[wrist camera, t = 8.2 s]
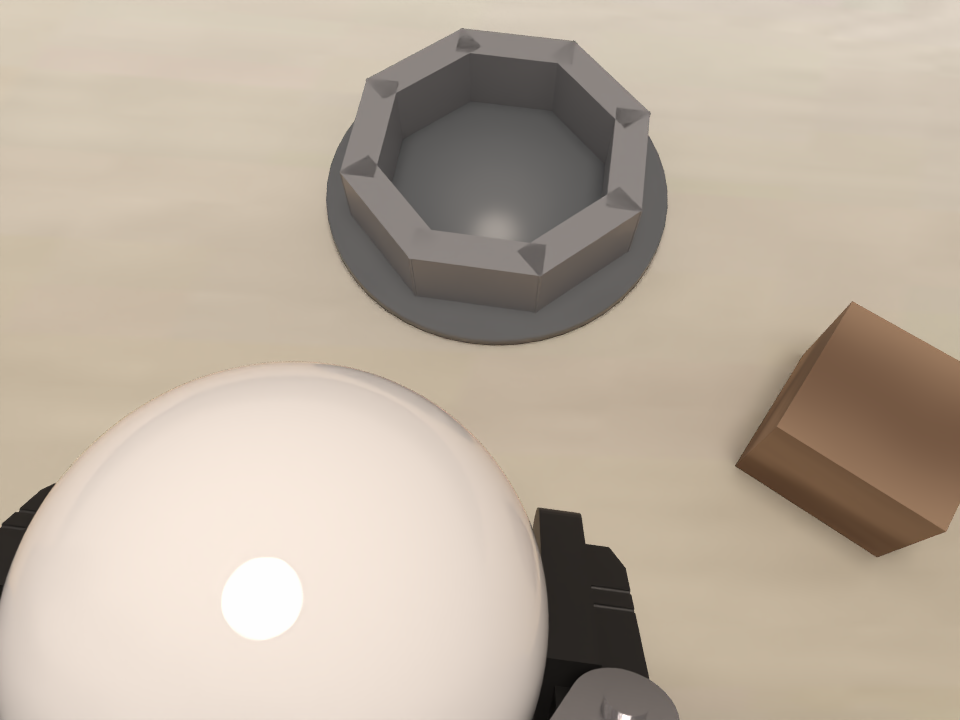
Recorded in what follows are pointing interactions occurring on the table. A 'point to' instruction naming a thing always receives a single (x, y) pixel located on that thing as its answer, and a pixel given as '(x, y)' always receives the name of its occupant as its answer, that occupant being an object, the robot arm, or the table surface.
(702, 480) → the table surface
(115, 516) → the lightbulb
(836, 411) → the walnut block
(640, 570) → the table surface
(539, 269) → the socket collar
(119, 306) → the table surface
